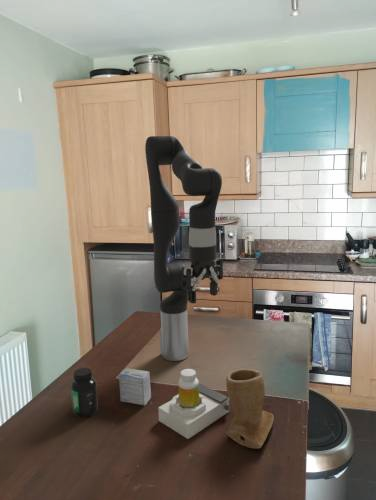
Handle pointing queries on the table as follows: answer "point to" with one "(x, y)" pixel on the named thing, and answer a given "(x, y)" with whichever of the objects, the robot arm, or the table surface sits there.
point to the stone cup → (248, 408)
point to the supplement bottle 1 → (84, 393)
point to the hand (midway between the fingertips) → (203, 298)
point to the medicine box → (135, 386)
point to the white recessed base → (194, 412)
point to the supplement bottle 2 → (188, 389)
